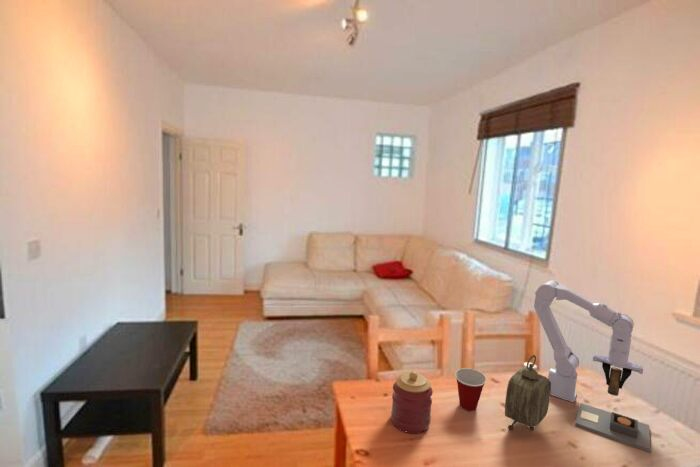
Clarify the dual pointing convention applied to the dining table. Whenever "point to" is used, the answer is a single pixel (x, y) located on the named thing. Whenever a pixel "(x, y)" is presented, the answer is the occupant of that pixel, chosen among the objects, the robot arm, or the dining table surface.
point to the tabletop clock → (527, 397)
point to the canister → (411, 402)
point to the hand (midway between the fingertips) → (613, 385)
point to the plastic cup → (469, 387)
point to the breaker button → (624, 421)
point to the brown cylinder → (614, 381)
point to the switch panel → (613, 426)
